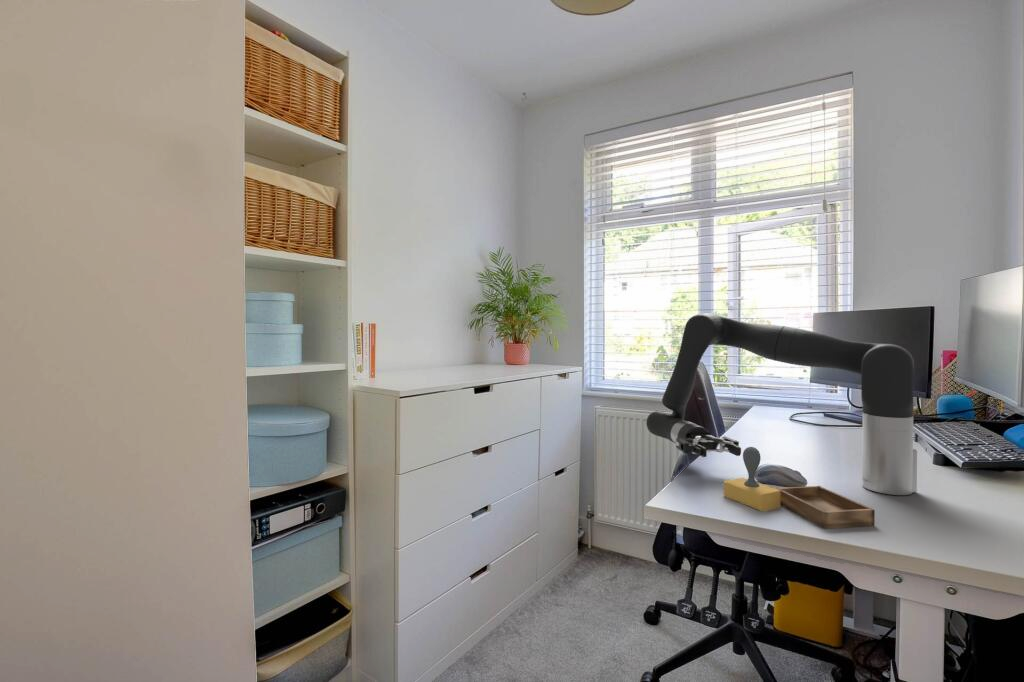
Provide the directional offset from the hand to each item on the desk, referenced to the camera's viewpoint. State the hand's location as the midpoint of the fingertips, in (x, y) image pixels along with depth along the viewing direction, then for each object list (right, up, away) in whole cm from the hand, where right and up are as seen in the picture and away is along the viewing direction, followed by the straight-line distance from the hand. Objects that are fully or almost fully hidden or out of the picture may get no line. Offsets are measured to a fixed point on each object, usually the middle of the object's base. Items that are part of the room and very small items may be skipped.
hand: (722, 452), depth 116 cm
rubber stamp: (+1, -8, -11) cm, 14 cm away
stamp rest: (+12, -8, -18) cm, 23 cm away
